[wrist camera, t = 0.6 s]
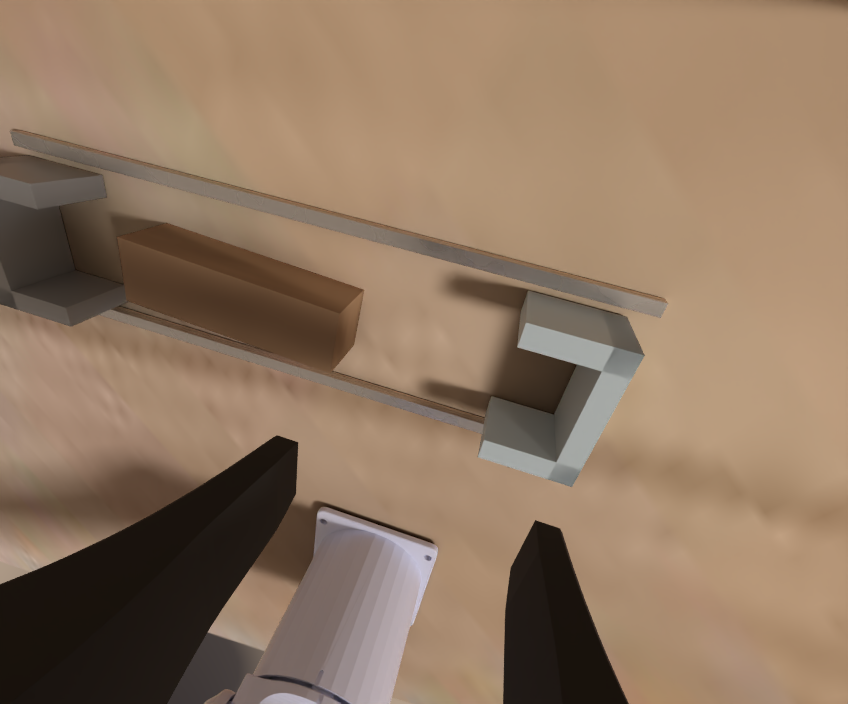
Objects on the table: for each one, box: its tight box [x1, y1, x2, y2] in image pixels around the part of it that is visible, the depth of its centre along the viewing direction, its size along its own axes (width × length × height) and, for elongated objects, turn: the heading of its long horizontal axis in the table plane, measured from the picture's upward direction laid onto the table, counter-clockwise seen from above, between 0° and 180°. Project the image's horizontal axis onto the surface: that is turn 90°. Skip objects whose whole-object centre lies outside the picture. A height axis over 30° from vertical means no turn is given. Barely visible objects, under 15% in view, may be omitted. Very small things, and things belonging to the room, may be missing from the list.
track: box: [10, 130, 668, 434], centre depth 19 cm, size 9×29×1 cm, turn 79°
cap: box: [478, 290, 645, 487], centre depth 17 cm, size 6×4×3 cm, turn 169°
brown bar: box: [117, 223, 364, 373], centre depth 19 cm, size 3×10×3 cm, turn 76°
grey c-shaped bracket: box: [0, 155, 128, 326], centre depth 20 cm, size 6×4×3 cm, turn 169°
